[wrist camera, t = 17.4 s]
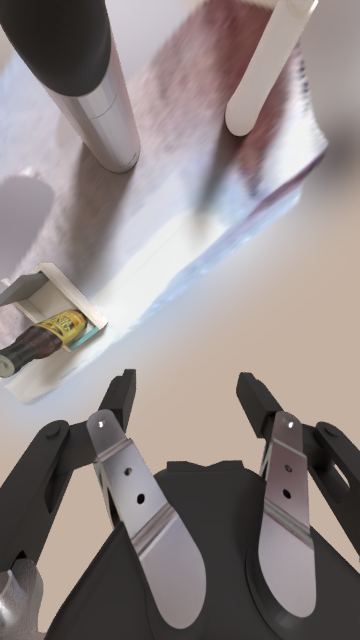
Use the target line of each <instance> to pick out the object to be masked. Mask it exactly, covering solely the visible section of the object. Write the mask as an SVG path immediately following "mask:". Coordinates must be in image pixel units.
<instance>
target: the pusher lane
mask: <svg viewBox="0 0 360 640" xmlns="http://www.w3.org/2000/svg"><path fill="white" fill-rule="evenodd" d="M37 273H44V274H45V275H46V276H47V277H48V278H49V279H50V280H49V281H48V282H46V283H45V284H44V285H43V286H42V287H41V288H40V289H38V290H37V291H36V292H35V293H34V294H33V295H31V296H30V297H29V298H28V299H25V300H21V301H18V302H14V303H12V304H14V305H15V306H16V307H17V308H18V309H19V310H20V311H22V312H23V313H24V314H25V315H26V316H27V317H28V318H30V319H31V320H32V321H33V322H34V323H35V324H37V323H39V322H42V321H44V320H46V319H48V318H50V317H52V316H54V315H56V314H59V313H61V312H63V311H65V310H69V309H76V310H79V311H81V312H82V313H83V314H84V315H85V316H86V318H87V320H88V323H87V326H86V328H85V329H84V330H83V331H82V332H81V333H79V334H78V335H77V336H75V337H74V338H73V339H72V340H70V341H69V342H68V343H66V344H65V345H64V346H62V347H63V348H64V349H65V350H66V351H67V352H68V353H70V352H71V351H72V350H74V349H75V348H76V347H77V346H79V345H80V344H81V343H83V342H84V341H85V340H87V339H88V338H89V337H91V336H92V335H93V334H95V333H96V332H97V331H99V330H100V329H101V328H103V327H104V326H105V325H106V324H107V323H108V320H107V319H106V318H105V317H104V316H103V315H102V314H101V313H100V312H99V311H98V310H97V309H96V308H95V307H94V306H93V305H92V304H91V303H90V302H89V301H88V299H87V298H86V297H85V296H84V295H83V294H82V293H81V292H80V291H79V290H78V289H77V288H76V287H75V286H74V285H73V284H72V283H71V282H70V281H69V280H68V278H67V277H66V276H65V275H64V274H63V273H62V272H61V271H60V270H59V269H58V268H57V267H56V266H55V265H54V264H53V263H39V264H38V265H37V266H36V267H35V268H34V269H33V270H32V271H30V272H29V273H28V274H27V275H29V274H37Z"/></svg>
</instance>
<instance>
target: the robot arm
mask: <svg viewBox="0 0 360 640" xmlns="http://www.w3.org/2000/svg"><path fill="white" fill-rule="evenodd" d="M0 24H1V26H2V28H3V30H4V32H5V34H6V36H7V37H8V39H9V41H10V42H11V44H12V45H13V47H14V48H15V50H16V51H17V53H18V54H19V56H20V57H21V58H22V60H23V61H24V62H25V64H26V65H27V66H28V68H29V69H30V70H31V72H32V73H33V74H34V76H35V77H36V78H37V80H38V81H39V82H40V84H41V85H42V86H43V88H44V89H45V90H46V92H47V93H48V94H49V96H50V97H51V98H52V100H53V101H54V102H55V104H56V105H57V106H58V108H59V109H60V110H61V112H62V113H63V114H64V116H65V117H66V118H67V120H68V121H69V122H70V124H71V125H72V126H73V128H74V129H75V131H76V132H77V133H78V135H79V136H80V137H81V139H82V140H83V141H84V143H85V144H86V145H87V147H88V148H89V149H90V151H91V152H92V153H93V155H94V156H95V158H96V159H97V160H98V162H99V163H100V164H101V165H102V166H103V167H104V168H106V169H107V170H109V171H112V172H115V173H123V172H126V171H128V170H130V169H131V168H132V167H133V166H134V165H135V163H136V161H137V159H138V156H139V152H140V140H139V136H138V131H137V127H136V123H135V119H134V115H133V111H132V107H131V103H130V99H129V95H128V91H127V88H126V84H125V80H124V76H123V72H122V68H121V64H120V60H119V56H118V53H117V49H116V45H115V41H114V37H113V33H112V29H111V25H110V21H109V18H108V13H107V10H106V6H105V0H0ZM135 392H136V370H135V369H125V370H124V373H123V375H122V376H116V377H115V378H114V379H113V380H112V381H111V383H110V386H109V388H108V390H107V392H106V394H105V396H104V398H103V400H102V403H101V405H100V407H99V409H98V411H97V412H95V413H94V414H92V415H91V416H90V417H89V419H88V420H87V421H84V422H81V423H77V424H74V425H70V426H69V424H68V422H66V421H64V420H57V421H54V422H51V423H49V424H47V425H46V426H44V427H43V428H42V429H41V430H40V431H39V432H38V434H37V435H36V436H35V438H34V439H33V441H32V442H31V444H30V445H29V447H28V448H27V450H26V451H25V452H24V454H23V455H22V457H21V458H20V460H19V461H18V463H17V464H16V466H15V467H14V469H13V470H12V471H11V473H10V474H9V476H8V477H7V479H6V480H5V482H4V483H3V485H2V486H1V488H0V640H360V574H359V573H358V572H357V571H356V570H355V569H354V568H353V567H352V566H351V565H350V564H349V563H348V562H347V561H346V560H345V559H344V558H343V557H342V556H341V555H340V554H339V553H338V552H337V551H336V550H335V549H334V548H333V547H332V546H331V545H330V544H329V543H328V542H327V541H326V540H325V539H324V538H323V537H322V536H321V535H320V534H319V533H318V532H317V531H316V530H315V529H314V528H313V527H312V526H311V525H310V523H309V498H308V471H309V473H310V475H311V476H312V478H313V480H314V481H315V483H316V485H317V486H318V488H319V490H320V491H321V493H322V495H323V496H324V498H325V500H326V501H327V503H328V505H329V506H330V508H331V510H332V511H333V513H334V515H335V516H336V518H337V520H338V521H339V523H340V525H341V526H342V528H343V530H344V531H345V533H346V535H347V536H348V538H349V540H350V541H351V543H352V545H353V547H354V548H355V550H356V552H357V553H358V555H359V562H360V451H359V450H358V449H357V447H356V446H355V445H354V444H353V443H352V442H351V441H350V440H349V439H348V438H347V437H346V436H345V435H344V434H343V432H342V431H340V430H339V429H338V428H336V427H335V426H333V425H331V424H329V423H326V422H318V423H317V425H316V427H313V426H309V425H306V424H302V423H301V422H300V421H299V420H298V419H297V418H296V417H295V416H294V415H292V414H290V413H288V412H285V411H284V410H283V409H282V408H281V406H280V405H279V403H278V402H277V401H276V399H275V398H274V397H273V396H272V394H271V393H270V391H268V389H267V387H266V386H265V385H264V384H263V383H262V382H261V381H259V380H256V379H255V377H254V376H253V374H252V373H246V372H244V373H243V372H241V373H240V375H239V379H238V383H237V387H236V394H237V397H238V399H239V401H240V403H241V405H242V407H243V409H244V411H245V414H246V415H247V418H248V420H249V422H250V424H251V426H252V428H253V430H254V432H255V434H256V436H257V438H265V440H266V443H265V447H264V452H263V458H262V462H261V467H260V472H259V475H258V474H256V473H255V472H253V471H251V470H249V469H246V468H244V466H243V463H242V461H241V460H239V461H237V460H236V461H235V460H234V461H221V462H219V463H216V464H213V465H210V466H207V467H205V466H201V465H197V464H194V463H190V462H187V461H170V462H169V461H168V462H167V469H164V470H161V471H160V472H158V473H156V474H155V475H152V473H151V472H150V470H149V468H148V467H147V465H146V463H145V461H144V459H143V458H142V456H141V455H140V452H139V451H138V449H137V447H136V446H135V444H134V442H133V440H132V439H131V438H129V439H127V437H126V435H125V433H126V429H127V425H128V421H129V417H130V413H131V409H132V405H133V401H134V397H135ZM91 463H93V465H94V469H95V472H96V475H97V478H98V481H99V484H100V487H101V490H102V493H103V497H104V501H105V505H106V509H107V512H108V515H109V518H110V522H111V525H112V528H113V531H112V533H111V534H110V536H109V537H108V539H107V540H106V542H105V543H104V544H103V546H102V547H101V549H100V550H99V552H98V553H97V555H96V556H95V557H94V559H93V560H92V562H91V563H90V565H89V566H88V568H87V569H86V571H85V572H84V573H83V575H82V577H81V578H80V579H79V581H78V582H77V584H76V585H75V587H74V588H73V589H72V591H71V593H70V594H69V595H68V597H67V598H66V600H65V601H64V603H63V604H62V606H61V607H60V609H59V611H58V612H57V614H56V616H55V617H54V619H53V621H52V623H51V625H50V627H49V629H48V631H47V633H41V632H38V613H39V608H40V604H41V601H42V596H43V580H42V578H41V575H40V573H39V571H38V569H37V567H36V565H37V562H38V559H39V557H40V554H41V552H42V549H43V547H44V544H45V542H46V539H47V537H48V534H49V532H50V529H51V526H52V524H53V521H54V519H55V516H56V514H57V511H58V509H59V506H60V503H61V501H62V498H63V496H64V493H65V491H66V488H67V486H68V483H69V481H70V478H71V476H72V473H73V471H74V470H75V469H77V468H80V467H82V466H86V465H88V464H91ZM335 464H336V465H337V466H338V468H339V469H340V470H341V471H342V473H343V474H344V475H345V477H346V478H347V480H348V483H349V486H350V488H349V486H348V485H347V484H346V482H345V481H344V480H343V478H342V477H341V475H340V474H339V473H338V471H337V470H336V469H335V467H334V465H335ZM307 470H308V471H307Z"/></svg>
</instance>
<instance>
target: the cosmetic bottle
mask: <svg viewBox="0 0 360 640" xmlns="http://www.w3.org/2000/svg"><path fill="white" fill-rule="evenodd" d="M317 3H318V0H279V1H278V3H277V5H276V7H275V9H274V12H273V14H272V16H271V18H270V20H269V22H268V24H267V27H266V29H265V31H264V33H263V35H262V38H261V40H260V42H259V44H258V46H257V48H256V51H255V53H254V55H253V57H252V59H251V61H250V64H249V66H248V68H247V70H246V72H245V74H244V76H243V78H242V80H241V82H240V84H239V86H238V88H237V89H236V91H235V93H234V95H233V96H232V98H231V99H230V101H229V103H228V105H227V108H226V113H225V120H226V125H227V127H228V129H229V131H230V132H231V133H232V134H234V135H236V136H243V135H246V134H247V133H249V132H250V131H251V129H252V128H253V127H254V125H255V122H256V120H257V117H258V115H259V112H260V110H261V108H262V106H263V104H264V102H265V100H266V98H267V96H268V94H269V92H270V90H271V88H272V87H273V85H274V83H275V81H276V79H277V77H278V76H279V74H280V72H281V70H282V68H283V66H284V65H285V63H286V61H287V59H288V57H289V56H290V54H291V52H292V50H293V48H294V46H295V45H296V43H297V41H298V39H299V37H300V35H301V34H302V32H303V30H304V28H305V26H306V24H307V22H308V20H309V19H310V16H311V14H312V13H313V11H314V9H315V7H316V5H317Z"/></svg>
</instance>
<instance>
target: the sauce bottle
mask: <svg viewBox="0 0 360 640" xmlns="http://www.w3.org/2000/svg"><path fill="white" fill-rule="evenodd" d="M87 323H88V320H87V318H86V316H85V315H84V314H83V313H82V312H81V311H79V310H76V309H69V310H65V311H63V312H61V313H59V314H56V315H54V316H52V317H50V318H48V319H46V320H44V321H42V322H39V323H37V324H35V325H33V326H31V327H30V328H28V329H27V330H26V331H25V332H24V333H22V334H21V335H20V336H19V337H18V338H17V339H16V341H15V343H13V344H11V345H10V346H8V347H6V348H4V349H2V350H0V377H2V378H6V377H10V376H12V375H14V374H15V373H17V372H18V371H20V369H21V367H23V366H24V365H25V364H27V363H28V362H31V361H32V360H33V359H42V358H45V357H48V356H50V355H51V354H53V353H54V352H55V351H57V350H58V349H60V348H61V347H62V346H64V345H65V344H66V343H68V342H69V341H70V340H72V339H73V338H74V337H75V336H77V335H78V334H79V333H81V332H82V331H83V330H84V329H85V328H86V326H87Z"/></svg>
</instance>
